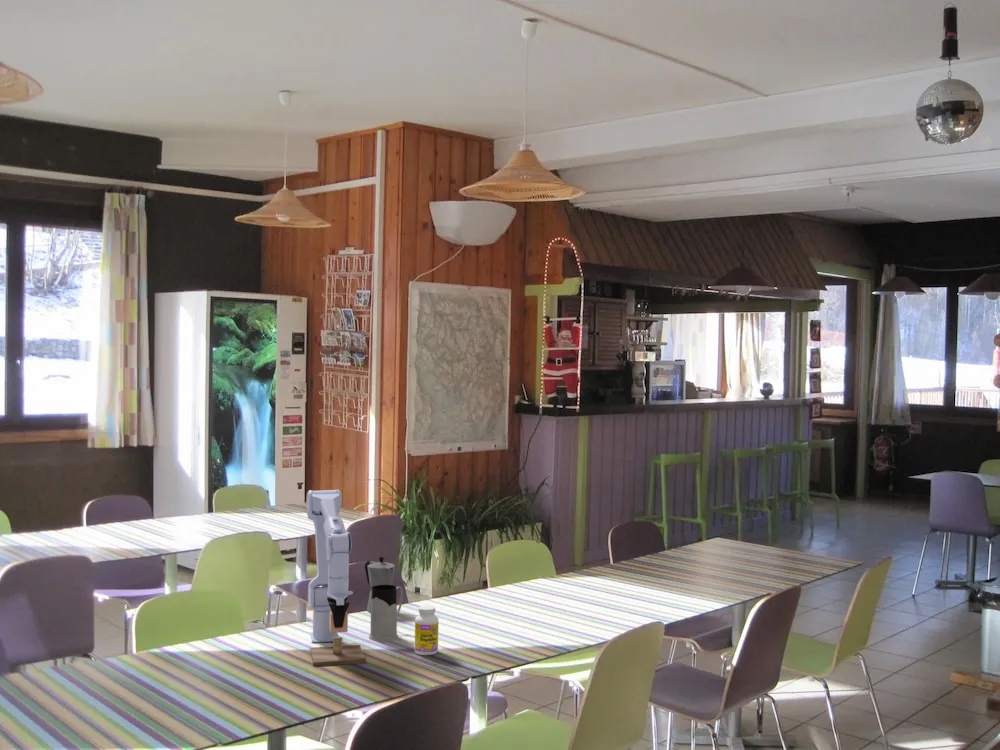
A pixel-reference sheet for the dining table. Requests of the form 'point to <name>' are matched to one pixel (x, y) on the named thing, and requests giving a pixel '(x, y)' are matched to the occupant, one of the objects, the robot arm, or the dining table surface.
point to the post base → (337, 654)
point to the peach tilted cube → (336, 630)
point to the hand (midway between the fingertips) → (337, 625)
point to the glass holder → (384, 612)
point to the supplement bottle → (426, 631)
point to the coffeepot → (378, 575)
